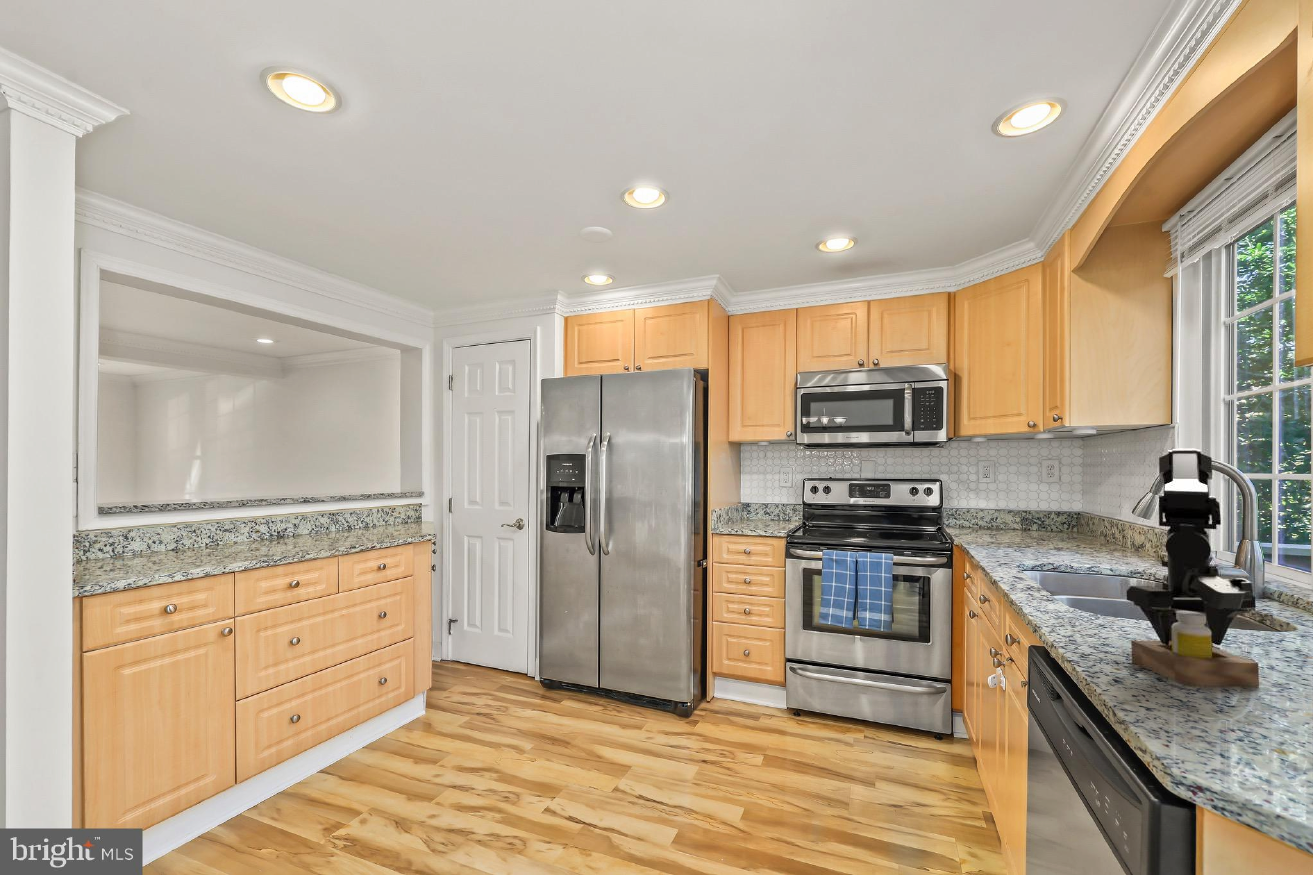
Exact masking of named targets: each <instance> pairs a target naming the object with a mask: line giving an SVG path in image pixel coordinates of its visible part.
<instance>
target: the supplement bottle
mask: <svg viewBox="0 0 1313 875" xmlns="http://www.w3.org/2000/svg"><path fill="white" fill-rule="evenodd" d="M1176 619H1177V620H1178V622H1176V623H1174V624H1173V625H1172V651H1173V652H1175V653H1178V654H1181V655H1183V656H1186V657H1189V658H1212V633H1211V630H1210V629H1209V628H1207V627H1205V626H1204V624H1205V623H1206V615H1204V614H1202V613H1197V612H1192V611H1177V612H1176Z"/></svg>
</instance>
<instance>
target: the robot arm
mask: <svg viewBox="0 0 1313 875" xmlns="http://www.w3.org/2000/svg"><path fill="white" fill-rule="evenodd" d="M1158 471H1159V472H1158V474H1159V479H1163V493H1162V494H1159V493H1158V527H1165V528H1166V527H1168V528H1167V530H1166V541H1165V550H1166V555H1167V560H1161V567H1165V568H1167V576H1166V582H1162V586H1161V587H1162V588H1160V587H1155V586H1150V585H1130V586H1129V587H1127V589H1126V601H1128V602H1132V603H1133V605H1134V606H1136V607H1139V608H1140V609H1141V611H1142V612H1143V614H1144V615H1145V617H1146V618H1147V620H1148V621H1149V624H1150V625H1151V627H1152V629H1153V630H1154V632H1155V634H1156V635H1157V637H1158V639H1159V641H1161V642H1162V644H1165V645H1169V641H1172V625H1173V624H1174V623H1176V622H1178V620H1177V619H1176V612H1177V611H1192V612H1197V613H1202V614H1204V615H1206V623H1205V624H1204V626H1205V627H1207V628H1209V629H1210V630H1211V633H1212V647H1214V648H1217V649H1220V650H1221V647H1218V646H1221V645H1222V642H1223V641H1224V638H1225V636H1226V634H1227V631H1228V629H1229V628H1230V626H1231V624H1232V622H1233V620H1234V619H1235V618H1236V617H1237V616H1240V615H1242V614H1244V613H1248V612H1249V609H1256V608H1257V607H1256V606H1257V605H1256V603H1257V602H1256V597H1255V596H1254V590H1253V589H1254V588H1253V582H1251V581H1249V580H1248V579H1246V578H1244V577H1243V578H1240V577H1239V578H1238V577H1236V578H1233V579H1229V578H1222V577H1220V575H1219V570H1218V568H1217V566H1216V565H1211V564H1210V562H1211V560H1210V558H1211V557H1210V556H1211V552H1212V548H1211V544H1210V536H1209V535H1210V534H1209V533H1208V531H1207V530H1217V525H1218V526H1221V525H1222V523H1221V522H1222V520H1221V519H1222V518H1221V506H1220V505H1221V504H1220V502H1219V501H1218V500H1217V497H1216V496H1214V495H1210V490H1209V485H1208V484H1209V480H1213V459H1212V457H1211V456H1209V455H1206V454H1203V453H1202V451H1201V449H1197V448H1172V449H1171V450H1169V449H1168V453H1167V454H1164V455H1162V456H1160V457H1158ZM1210 522H1211V523H1210ZM1215 645H1216V646H1215Z"/></svg>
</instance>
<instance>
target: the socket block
mask: <svg viewBox="0 0 1313 875" xmlns="http://www.w3.org/2000/svg"><path fill="white" fill-rule="evenodd" d="M1130 643H1131V662H1132V663H1133V664H1136V665H1139V666H1141V667H1143V668H1144V669H1148V670H1150V671H1152V672H1154V673H1156V674H1159V675H1161V676H1164V677H1166V678H1168V679H1170V680H1173V681H1175V682H1178V683H1180V684H1182V685H1184V686H1187V687H1252V688H1253V687H1254V688H1255V687H1258V688H1259V687H1260V673H1259V662H1256V661H1254V660H1251V659H1248V658H1245V657H1242V656H1240V655H1237V654H1234V653H1231V652H1227V651H1225V650H1223V649H1221V648H1220V649H1217V648H1214V647H1212V658H1189V657H1186V656H1183V655H1181V654H1178V653H1175V652H1173V651H1172V641H1169V645H1165V644H1162V642H1161V641H1160V640H1131V642H1130Z"/></svg>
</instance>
